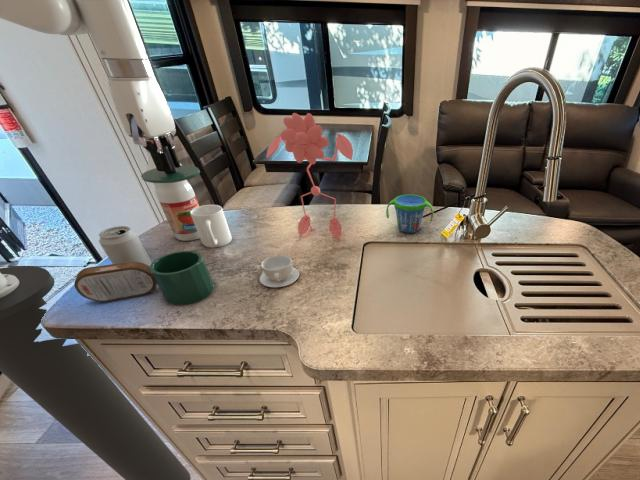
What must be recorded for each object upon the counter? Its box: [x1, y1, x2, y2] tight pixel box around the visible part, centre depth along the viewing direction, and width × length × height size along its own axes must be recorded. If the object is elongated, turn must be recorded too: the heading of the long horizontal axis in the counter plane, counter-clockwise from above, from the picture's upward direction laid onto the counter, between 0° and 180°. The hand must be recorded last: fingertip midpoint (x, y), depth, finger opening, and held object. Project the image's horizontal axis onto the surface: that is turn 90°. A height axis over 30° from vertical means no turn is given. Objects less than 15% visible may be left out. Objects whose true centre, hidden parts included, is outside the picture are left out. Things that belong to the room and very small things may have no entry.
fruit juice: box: [146, 136, 200, 242], centre depth 93 cm, size 9×9×28 cm
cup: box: [190, 204, 233, 249], centre depth 94 cm, size 8×12×10 cm
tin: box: [73, 262, 158, 303], centre depth 73 cm, size 15×3×8 cm, turn 113°
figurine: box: [265, 112, 354, 253], centre depth 90 cm, size 15×26×35 cm, turn 80°
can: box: [98, 225, 153, 266], centre depth 80 cm, size 8×8×12 cm
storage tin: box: [149, 250, 215, 306], centre depth 75 cm, size 10×10×8 cm
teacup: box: [259, 254, 300, 288], centre depth 82 cm, size 10×10×5 cm
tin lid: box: [140, 145, 201, 184], centre depth 72 cm, size 12×12×7 cm
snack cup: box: [385, 193, 434, 234], centre depth 106 cm, size 16×10×10 cm
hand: (169, 168), depth 73 cm, fingers closed on tin lid, 2 cm apart
